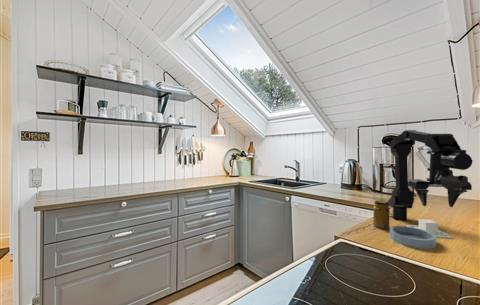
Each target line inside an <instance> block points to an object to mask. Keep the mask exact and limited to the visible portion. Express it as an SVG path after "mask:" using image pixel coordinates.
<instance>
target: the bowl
mask: <svg viewBox="0 0 480 305" xmlns="http://www.w3.org/2000/svg"><path fill="white" fill-rule="evenodd" d="M389 239H391V240H392V241H393V242H394V243H396V244H398V245H402V246H405V247H409V248H416V249H421V250H430V249H435V248H436V247H437V238H436V236H435V235H434V234H432V233H430V232H428V231H425V230H422V229H418V228H414V227H407V226H406V225H395V226H391V227H389Z"/></svg>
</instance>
